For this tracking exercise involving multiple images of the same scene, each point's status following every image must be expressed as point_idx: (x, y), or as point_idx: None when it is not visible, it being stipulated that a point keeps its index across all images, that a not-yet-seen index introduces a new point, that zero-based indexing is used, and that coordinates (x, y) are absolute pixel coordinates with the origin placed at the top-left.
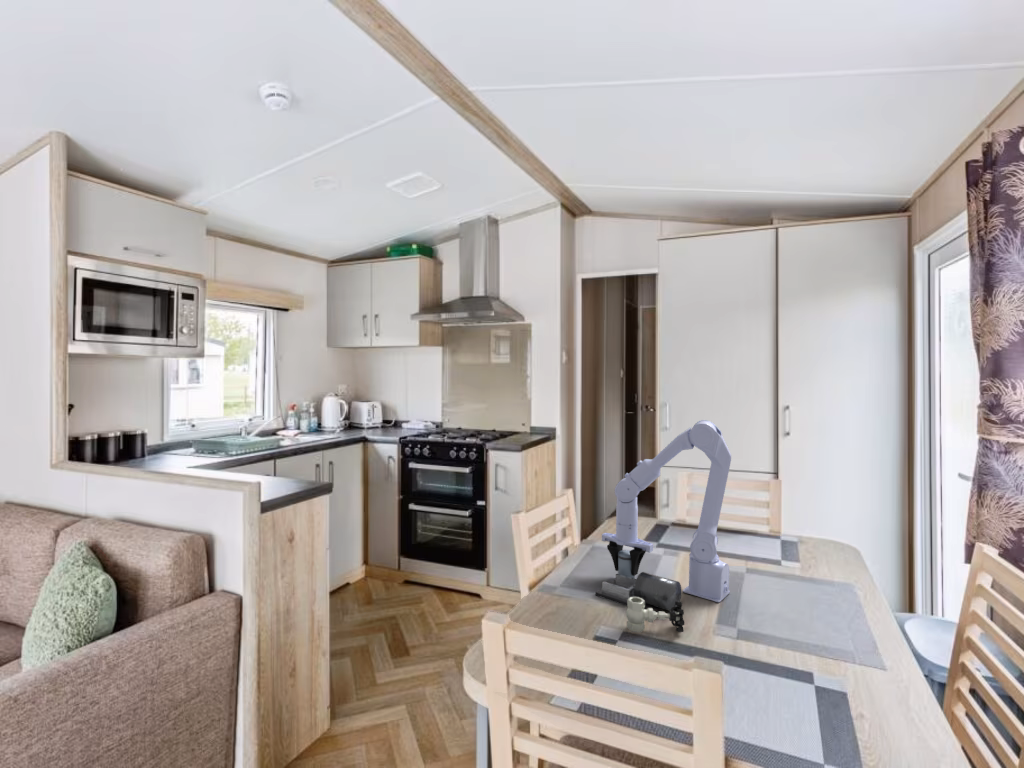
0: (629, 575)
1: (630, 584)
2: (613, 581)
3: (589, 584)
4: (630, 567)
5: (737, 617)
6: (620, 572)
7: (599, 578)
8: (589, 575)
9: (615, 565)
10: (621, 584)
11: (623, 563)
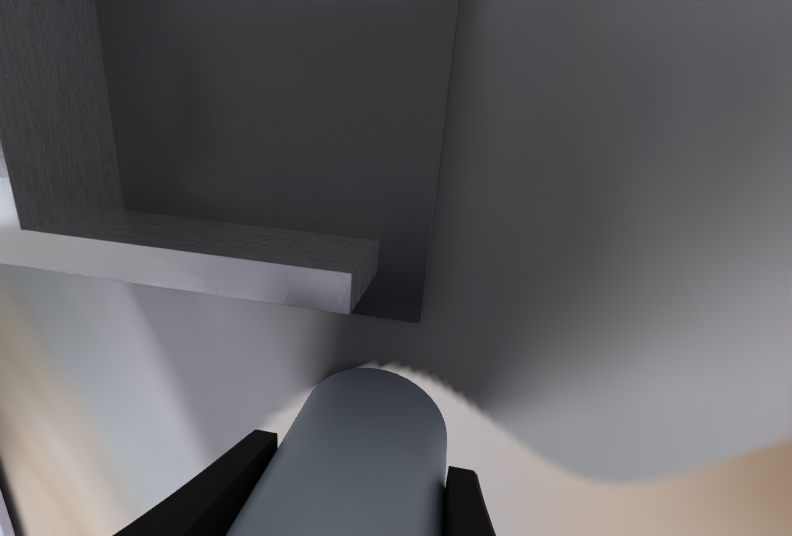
0: (295, 421)
1: (184, 227)
2: (424, 285)
3: (673, 121)
4: (246, 502)
5: None
6: (386, 428)
7: (613, 337)
8: (750, 356)
9: (468, 517)
10: (304, 233)
11: (301, 528)
